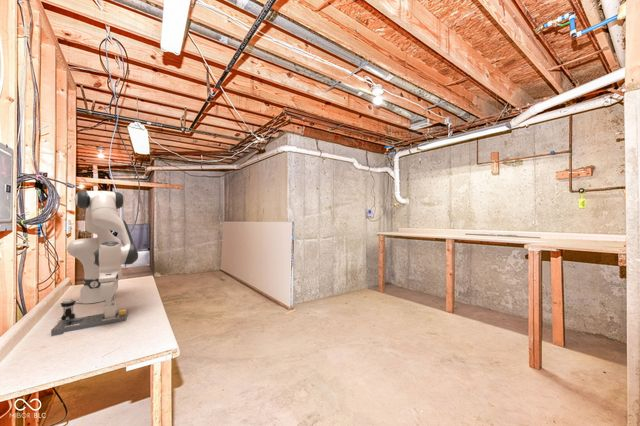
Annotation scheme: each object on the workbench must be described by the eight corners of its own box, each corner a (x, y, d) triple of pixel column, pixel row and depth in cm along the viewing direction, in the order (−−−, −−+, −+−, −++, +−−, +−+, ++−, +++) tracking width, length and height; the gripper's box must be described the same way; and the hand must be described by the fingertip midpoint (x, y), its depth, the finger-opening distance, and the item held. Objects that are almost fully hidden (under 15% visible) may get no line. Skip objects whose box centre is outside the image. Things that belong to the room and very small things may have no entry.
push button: (55, 323, 126) (55, 303, 126) (59, 320, 131) (59, 300, 131) (74, 320, 130) (73, 300, 130) (76, 317, 134) (76, 298, 134)
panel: (60, 326, 123) (60, 320, 123) (128, 315, 136) (128, 309, 136) (51, 337, 112) (51, 330, 112) (125, 323, 126) (125, 317, 126)
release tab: (120, 318, 130) (120, 310, 130) (125, 317, 132) (125, 309, 132) (119, 319, 128) (119, 311, 128) (125, 318, 130) (125, 310, 130)
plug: (106, 320, 128) (106, 303, 128) (116, 318, 130) (116, 301, 130) (104, 323, 125) (104, 305, 125) (115, 321, 127) (115, 304, 127)
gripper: (106, 272, 135) (106, 298, 135) (97, 279, 117) (98, 310, 117) (121, 270, 138) (121, 296, 138) (115, 277, 121) (115, 307, 120)
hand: (110, 302), depth 127 cm, fingers open, 8 cm apart
